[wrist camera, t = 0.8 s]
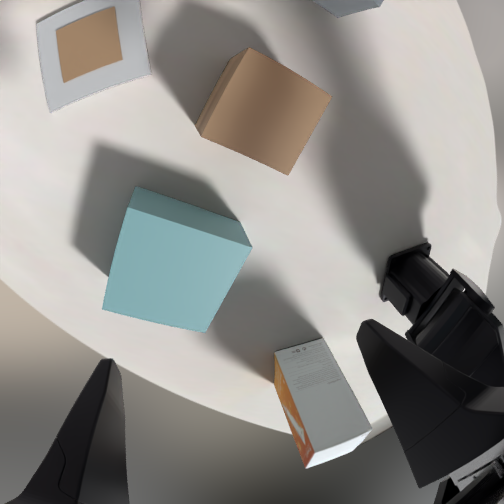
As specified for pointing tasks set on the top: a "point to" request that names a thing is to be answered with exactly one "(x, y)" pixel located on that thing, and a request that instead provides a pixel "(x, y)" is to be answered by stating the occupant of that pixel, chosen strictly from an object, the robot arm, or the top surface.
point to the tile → (91, 49)
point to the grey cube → (347, 6)
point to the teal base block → (173, 262)
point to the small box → (318, 403)
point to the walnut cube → (262, 110)
